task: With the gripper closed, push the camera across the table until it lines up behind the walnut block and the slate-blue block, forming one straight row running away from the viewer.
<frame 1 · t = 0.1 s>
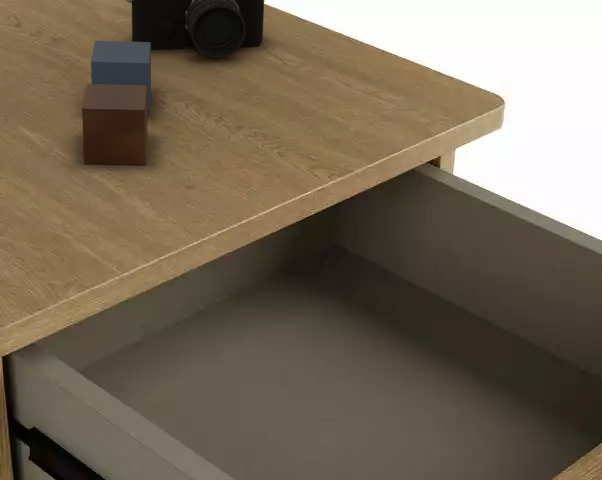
slate block: (122, 103, 117), on the table
walnut block: (116, 151, 109), on the table
camera: (200, 51, 130), on the table
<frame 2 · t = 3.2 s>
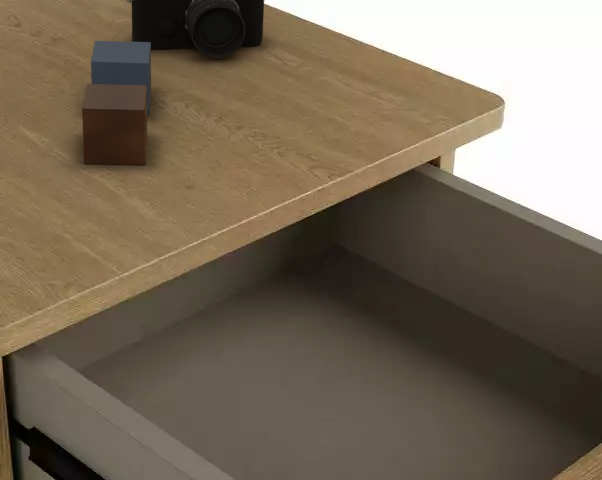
nothing on the table moved.
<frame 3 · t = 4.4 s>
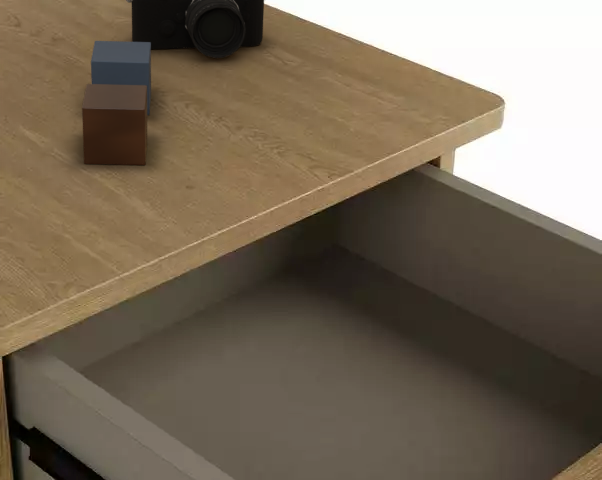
nothing on the table moved.
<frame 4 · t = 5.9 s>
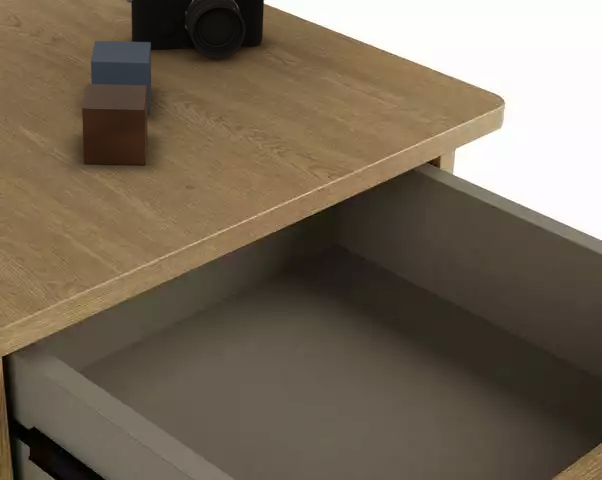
camera: (199, 51, 130), on the table, touching gripper
everything else where it was.
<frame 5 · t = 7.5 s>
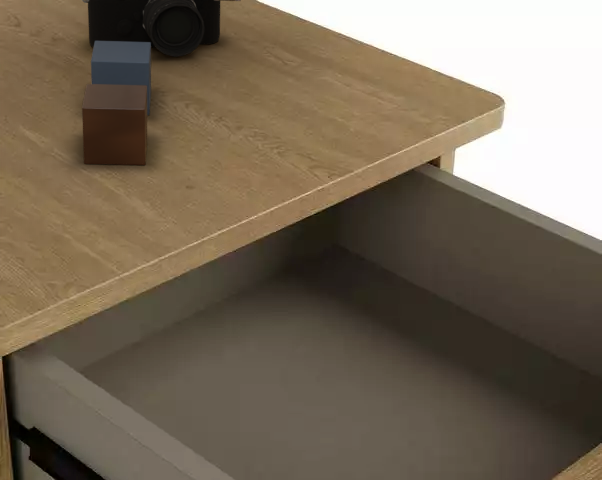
camera: (158, 50, 129), on the table, touching gripper
everything else where it was.
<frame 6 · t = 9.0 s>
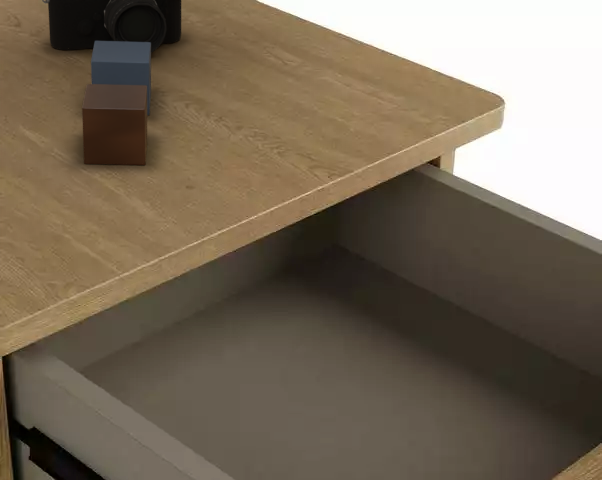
camera: (119, 50, 129), on the table, touching gripper
everything else where it was.
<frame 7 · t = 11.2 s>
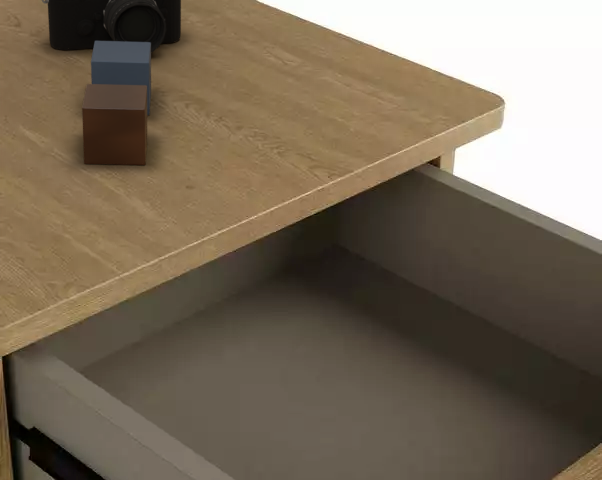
camera: (119, 50, 129), on the table
everything else where it was.
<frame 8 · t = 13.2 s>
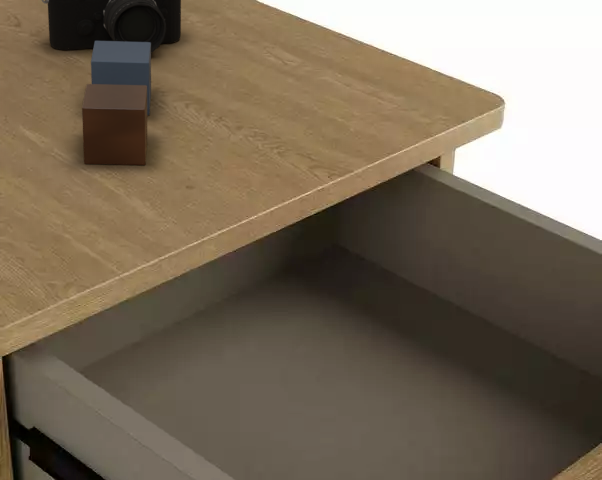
nothing on the table moved.
at the end: camera 1.1 cm from the target spot on the table beside the slate block, on the table; camera tilted 0°; walnut block moved 0.0 cm from its start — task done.
